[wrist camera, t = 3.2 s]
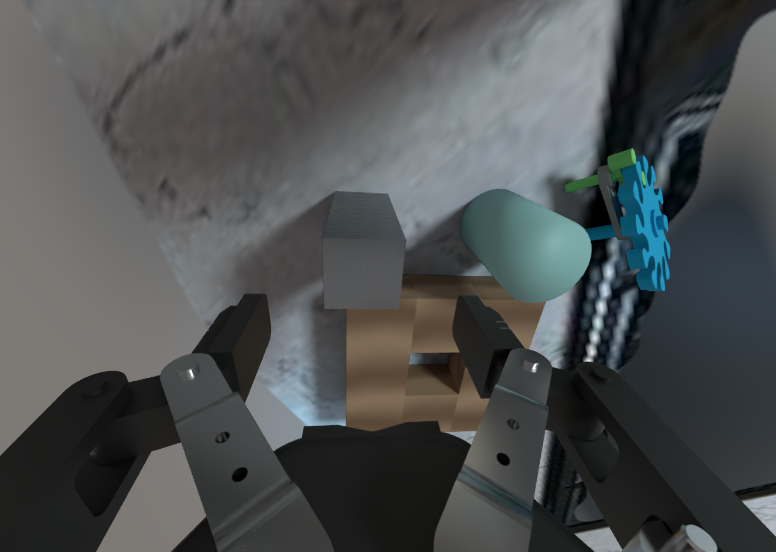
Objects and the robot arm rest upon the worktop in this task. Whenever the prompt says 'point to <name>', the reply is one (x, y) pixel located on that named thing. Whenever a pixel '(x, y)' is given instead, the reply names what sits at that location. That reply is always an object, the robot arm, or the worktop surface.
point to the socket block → (422, 335)
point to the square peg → (362, 253)
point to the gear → (633, 215)
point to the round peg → (525, 245)
